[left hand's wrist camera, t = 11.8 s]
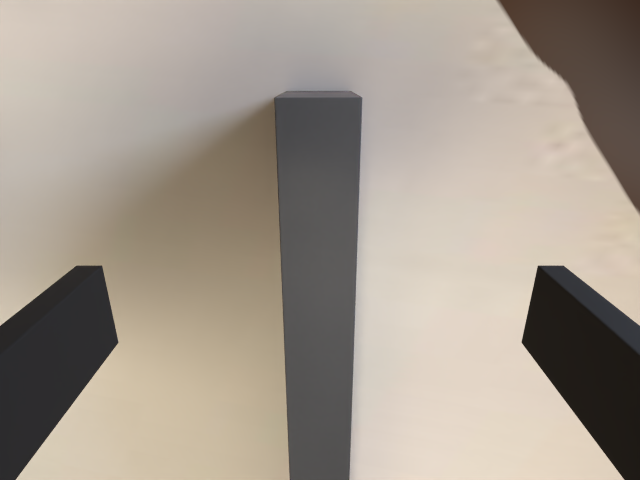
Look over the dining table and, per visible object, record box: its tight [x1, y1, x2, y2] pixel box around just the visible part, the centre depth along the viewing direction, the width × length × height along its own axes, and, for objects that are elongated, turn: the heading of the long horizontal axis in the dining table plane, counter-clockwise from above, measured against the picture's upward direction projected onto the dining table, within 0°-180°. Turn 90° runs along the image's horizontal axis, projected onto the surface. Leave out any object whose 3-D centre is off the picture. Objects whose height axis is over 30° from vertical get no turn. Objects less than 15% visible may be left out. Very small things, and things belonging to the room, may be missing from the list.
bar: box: [275, 91, 362, 480], centre depth 41 cm, size 70×5×9 cm, turn 0°
